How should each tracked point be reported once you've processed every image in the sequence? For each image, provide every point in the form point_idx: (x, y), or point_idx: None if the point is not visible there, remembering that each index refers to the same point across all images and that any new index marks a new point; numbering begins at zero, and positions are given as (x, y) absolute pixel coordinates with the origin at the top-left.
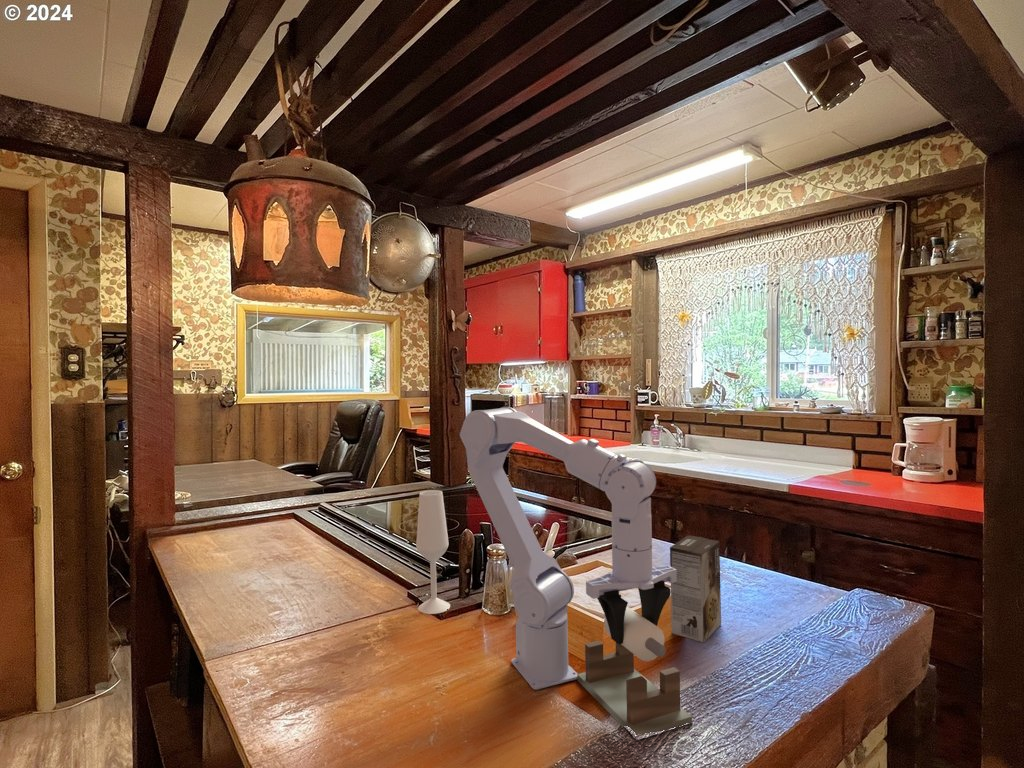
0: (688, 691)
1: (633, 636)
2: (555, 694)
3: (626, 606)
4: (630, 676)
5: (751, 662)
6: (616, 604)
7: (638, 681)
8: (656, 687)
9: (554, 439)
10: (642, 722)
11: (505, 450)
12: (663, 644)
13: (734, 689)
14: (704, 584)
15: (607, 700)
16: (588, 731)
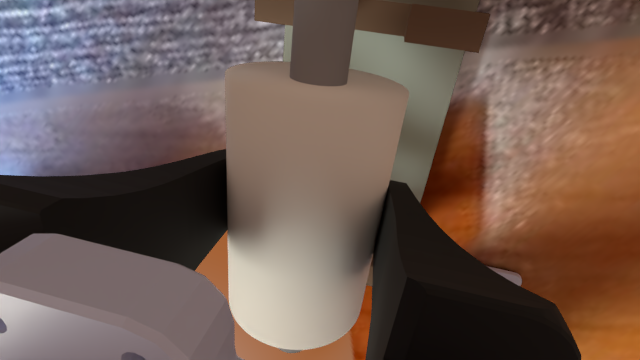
0: (211, 66)
1: (393, 129)
2: (488, 237)
3: (406, 264)
4: None
5: (12, 69)
6: (557, 316)
7: (447, 16)
8: None
9: None
10: (430, 4)
11: None
12: (248, 64)
13: (107, 7)
14: None
15: (429, 136)
16: (551, 83)
